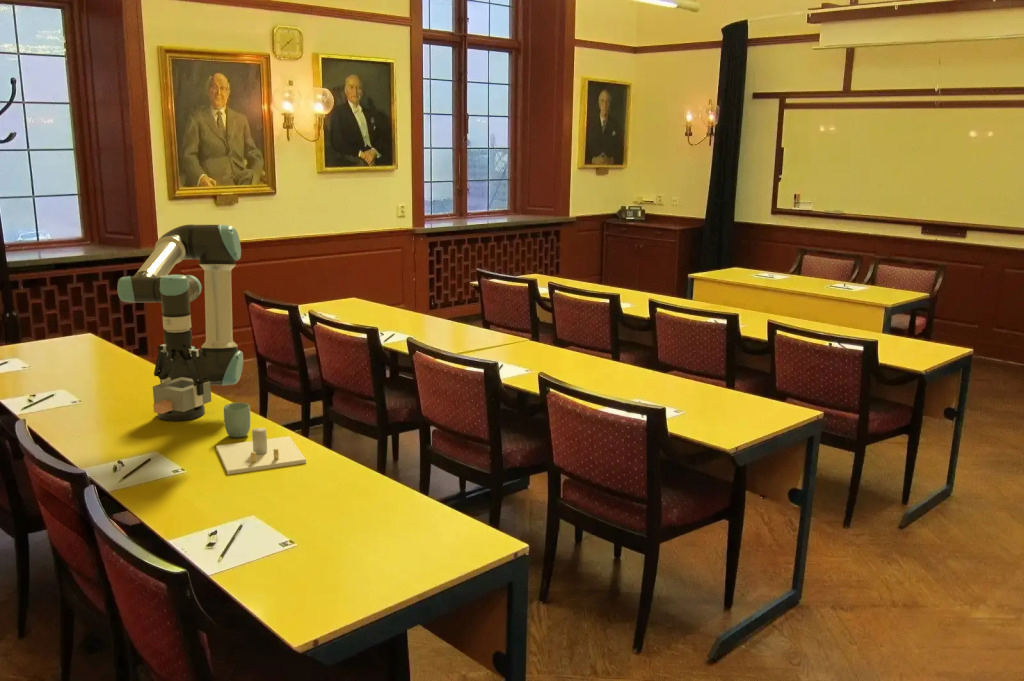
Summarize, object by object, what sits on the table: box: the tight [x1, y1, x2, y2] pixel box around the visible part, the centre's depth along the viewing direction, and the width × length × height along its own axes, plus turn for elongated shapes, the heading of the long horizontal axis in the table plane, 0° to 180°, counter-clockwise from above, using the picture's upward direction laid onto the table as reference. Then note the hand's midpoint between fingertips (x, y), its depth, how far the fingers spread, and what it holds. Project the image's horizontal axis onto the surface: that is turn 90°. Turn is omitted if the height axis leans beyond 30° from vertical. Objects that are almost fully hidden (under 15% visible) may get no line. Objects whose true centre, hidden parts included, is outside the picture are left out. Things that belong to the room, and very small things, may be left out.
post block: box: [216, 427, 307, 476], centre depth 249 cm, size 22×22×8 cm
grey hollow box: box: [152, 377, 212, 414], centre depth 241 cm, size 15×11×6 cm
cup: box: [223, 402, 252, 439], centre depth 265 cm, size 8×8×10 cm
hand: (183, 403), depth 243 cm, fingers closed on grey hollow box, 11 cm apart
